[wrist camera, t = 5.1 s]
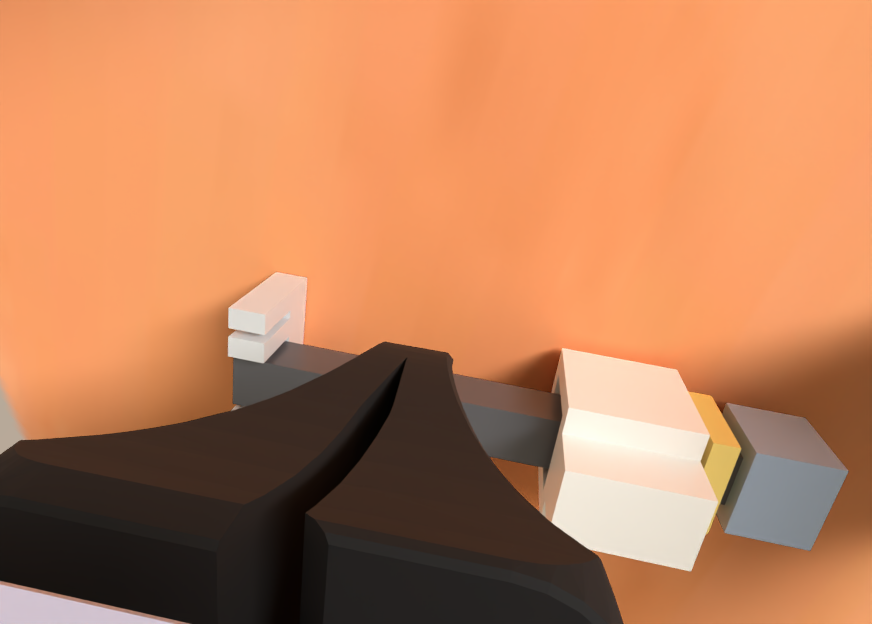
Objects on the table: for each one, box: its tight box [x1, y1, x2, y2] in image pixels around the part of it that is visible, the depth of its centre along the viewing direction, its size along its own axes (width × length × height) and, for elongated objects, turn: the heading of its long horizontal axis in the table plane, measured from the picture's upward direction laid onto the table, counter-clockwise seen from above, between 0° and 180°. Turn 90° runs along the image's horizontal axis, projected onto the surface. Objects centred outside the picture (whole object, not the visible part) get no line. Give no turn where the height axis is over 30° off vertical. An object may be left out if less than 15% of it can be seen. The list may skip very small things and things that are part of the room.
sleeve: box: [538, 348, 718, 571], centre depth 19 cm, size 4×4×6 cm
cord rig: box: [228, 272, 849, 551], centre depth 21 cm, size 19×6×4 cm, turn 82°
